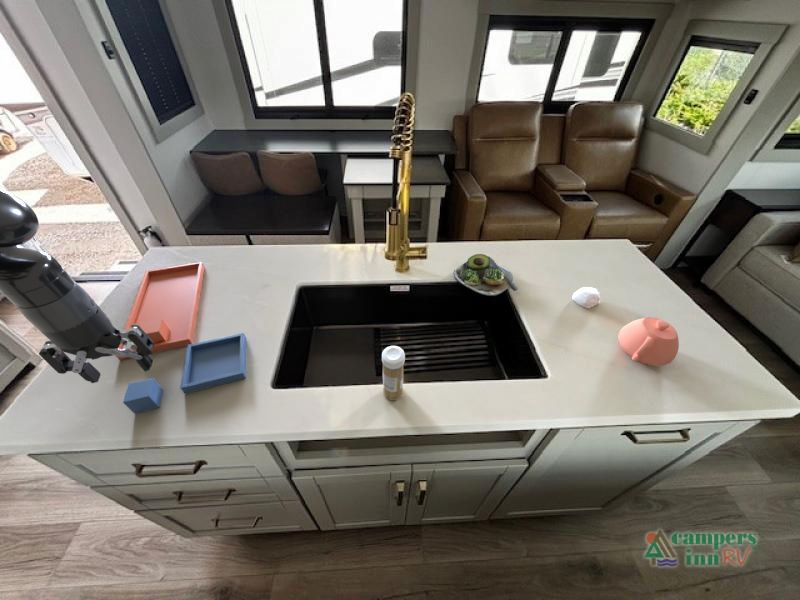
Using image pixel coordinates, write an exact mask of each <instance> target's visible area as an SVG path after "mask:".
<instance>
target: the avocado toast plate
mask: <svg viewBox="0 0 800 600" xmlns="http://www.w3.org/2000/svg"><path fill="white" fill-rule="evenodd" d="M453 276H454V279H455V280H456V282H458V284H460V285H461V286H463V287H465V288H467V289H468V290H470V291H473V292H475V293H477V294H479V295H482V296H486V297H496V296H499V295H501V294H502V293H504V292H505V291H507V290H512V291H518V290H519V288H518V286H516V284H515V283H514V280H515V278H514V274H513V273H512V271H510V270H508V269H507V268H505V267H504V266H501V265H499V264H497V262H495V260H494V259H493V258H492V257H490V256H489V255H487V254H483V253H476V254H473V255H471V256H469V257H468V259H467V260H466V261H465V262H464V263H462V264H461V265H459V266H457V267H456V268H455V269H454V270H453Z"/></svg>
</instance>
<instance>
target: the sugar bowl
mask: <svg viewBox="0 0 800 600" xmlns="http://www.w3.org/2000/svg"><path fill="white" fill-rule="evenodd" d="M678 334H679V333H678V331H677V330H676V328H675V327H674V326H673V325H672V324H670V323H669V322H667V321H666V320H663V319H661V318H658V317H654V316H653V317H652V316H648V317H643V318H639V319H636V320H633V321H631V322H629V323H627V324H626V325H624V326H623V327H622V328H621V329H620V330H619V332H618V336H617V337H618V343H619V345H620V347H621V349H622V351H624V353H626V355H627V356H629V357H630V358H631V360H632V361H633V362H635V363H638V362H639V363H642V364H644V365H647V364H648V366H659V367H660V366H666V365H668V364H671V363H672V362H673V361H674V359H676V357H677V354H678V352H679V347H680V342H679V335H678Z"/></svg>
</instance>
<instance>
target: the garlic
mask: <svg viewBox="0 0 800 600" xmlns="http://www.w3.org/2000/svg"><path fill="white" fill-rule="evenodd" d="M571 298H572V300H573V301H574V302H575V303H576V304H577V305H579V306H581V307H583V308H586V309H588V308H589V307H592V308H594V307H595V306H599V305H600V303H601V302H600V301H601V293H600V290H599V289H597V288H595V287H589V286H586V287H585V286H584V287H581V288H579V289H578V290H576V291H575V292H574V293H573V294H572V296H571ZM599 302H600V303H599ZM589 309H590V308H589Z"/></svg>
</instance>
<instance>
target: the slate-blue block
mask: <svg viewBox="0 0 800 600" xmlns="http://www.w3.org/2000/svg"><path fill="white" fill-rule="evenodd" d="M163 393H164V388H162V386H161V385H160V384H159V383H158V382H157V380H155V378H154V377H152V378H147V379H143V380H139V381H135V382H130V383H128V384H127V388H126V392H125V394H124V398H123V401H122V403H123V404H124V405H125V406H126V407H127V408H128V409H129V410H130V411H131V412H132V413H133V414H134V415H136V414H139V413H140V414H141V413H144V412H148V411H151V410H155V409H159V408H161V407H160V406H161V403H162V398H163Z"/></svg>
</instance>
